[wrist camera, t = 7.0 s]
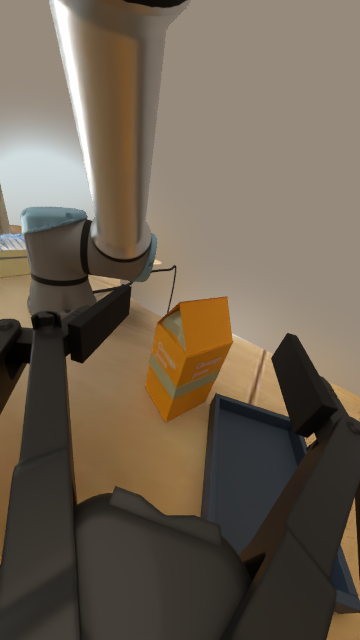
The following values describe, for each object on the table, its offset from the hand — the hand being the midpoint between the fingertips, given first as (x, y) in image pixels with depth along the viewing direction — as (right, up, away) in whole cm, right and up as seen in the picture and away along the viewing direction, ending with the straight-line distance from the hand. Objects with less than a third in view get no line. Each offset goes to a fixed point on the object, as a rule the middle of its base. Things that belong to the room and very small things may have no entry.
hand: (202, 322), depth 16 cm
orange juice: (-3, -14, +20) cm, 24 cm away
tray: (+9, -22, +11) cm, 26 cm away
